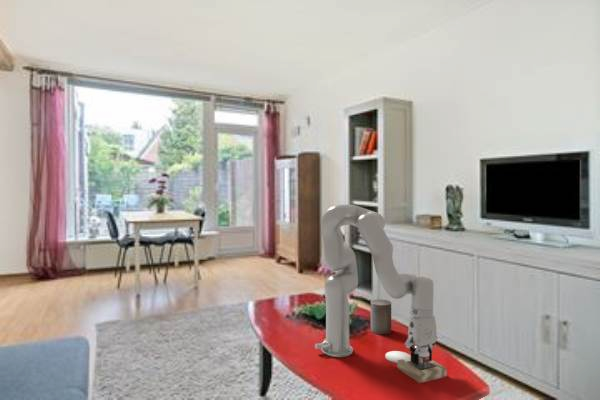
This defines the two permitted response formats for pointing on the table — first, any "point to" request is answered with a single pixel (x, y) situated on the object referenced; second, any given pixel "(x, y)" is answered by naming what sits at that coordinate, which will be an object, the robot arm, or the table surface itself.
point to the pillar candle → (381, 316)
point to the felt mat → (396, 356)
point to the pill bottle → (423, 358)
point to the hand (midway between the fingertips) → (421, 361)
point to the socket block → (423, 375)
